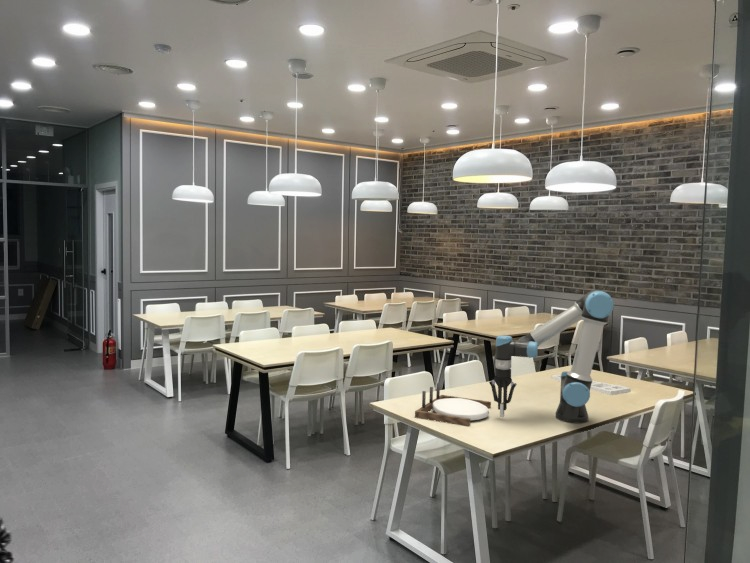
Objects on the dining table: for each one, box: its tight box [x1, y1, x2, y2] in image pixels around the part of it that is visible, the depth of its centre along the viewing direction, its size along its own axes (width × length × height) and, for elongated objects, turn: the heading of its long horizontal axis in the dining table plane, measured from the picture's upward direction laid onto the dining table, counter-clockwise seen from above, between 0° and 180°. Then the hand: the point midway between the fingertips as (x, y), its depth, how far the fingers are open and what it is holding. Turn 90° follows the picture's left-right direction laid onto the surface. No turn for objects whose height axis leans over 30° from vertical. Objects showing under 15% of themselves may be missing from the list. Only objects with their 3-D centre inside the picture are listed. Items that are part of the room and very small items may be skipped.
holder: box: [550, 374, 631, 396], centre depth 357 cm, size 45×18×3 cm, turn 30°
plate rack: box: [414, 382, 492, 427], centre depth 289 cm, size 27×37×11 cm
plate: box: [432, 397, 490, 421], centre depth 286 cm, size 28×6×27 cm
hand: (502, 416), depth 279 cm, fingers closed
